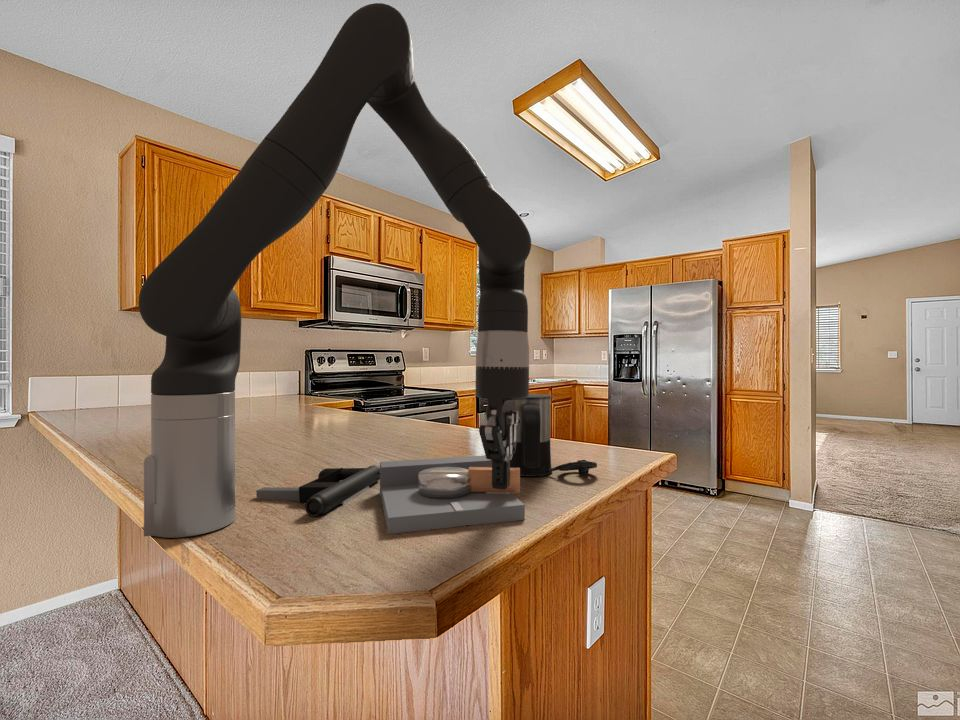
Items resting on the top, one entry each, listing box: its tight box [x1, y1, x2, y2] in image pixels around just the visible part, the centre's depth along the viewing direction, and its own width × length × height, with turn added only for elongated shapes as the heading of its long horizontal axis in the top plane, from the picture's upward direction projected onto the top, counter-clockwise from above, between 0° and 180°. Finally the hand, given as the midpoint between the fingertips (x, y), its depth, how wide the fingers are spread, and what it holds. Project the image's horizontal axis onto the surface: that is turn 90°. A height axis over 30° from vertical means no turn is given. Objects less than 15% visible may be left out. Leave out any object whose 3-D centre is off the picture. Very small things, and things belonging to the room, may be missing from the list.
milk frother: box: [509, 393, 598, 477], centre depth 85 cm, size 14×16×15 cm
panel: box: [379, 454, 526, 535], centre depth 66 cm, size 18×18×5 cm
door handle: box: [255, 465, 380, 517], centre depth 72 cm, size 3×20×16 cm
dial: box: [418, 467, 521, 498], centre depth 66 cm, size 15×8×3 cm, turn 86°
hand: (500, 487), depth 63 cm, fingers closed
